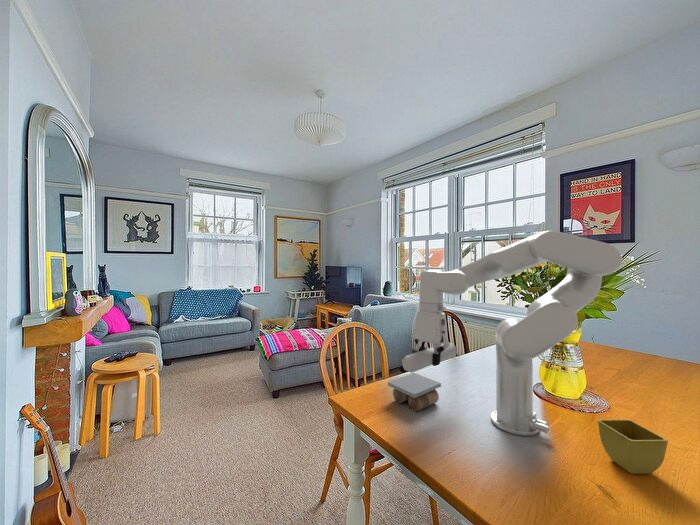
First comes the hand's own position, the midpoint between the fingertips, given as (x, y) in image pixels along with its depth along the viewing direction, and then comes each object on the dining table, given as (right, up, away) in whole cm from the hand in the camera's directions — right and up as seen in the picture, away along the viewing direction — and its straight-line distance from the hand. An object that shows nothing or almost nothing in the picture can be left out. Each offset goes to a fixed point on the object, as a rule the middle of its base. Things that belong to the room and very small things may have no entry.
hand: (429, 361), depth 95 cm
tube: (0, -1, 0) cm, 1 cm away
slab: (-4, -10, +6) cm, 12 cm away
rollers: (-3, -16, +5) cm, 17 cm away
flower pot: (+41, -16, -26) cm, 51 cm away
